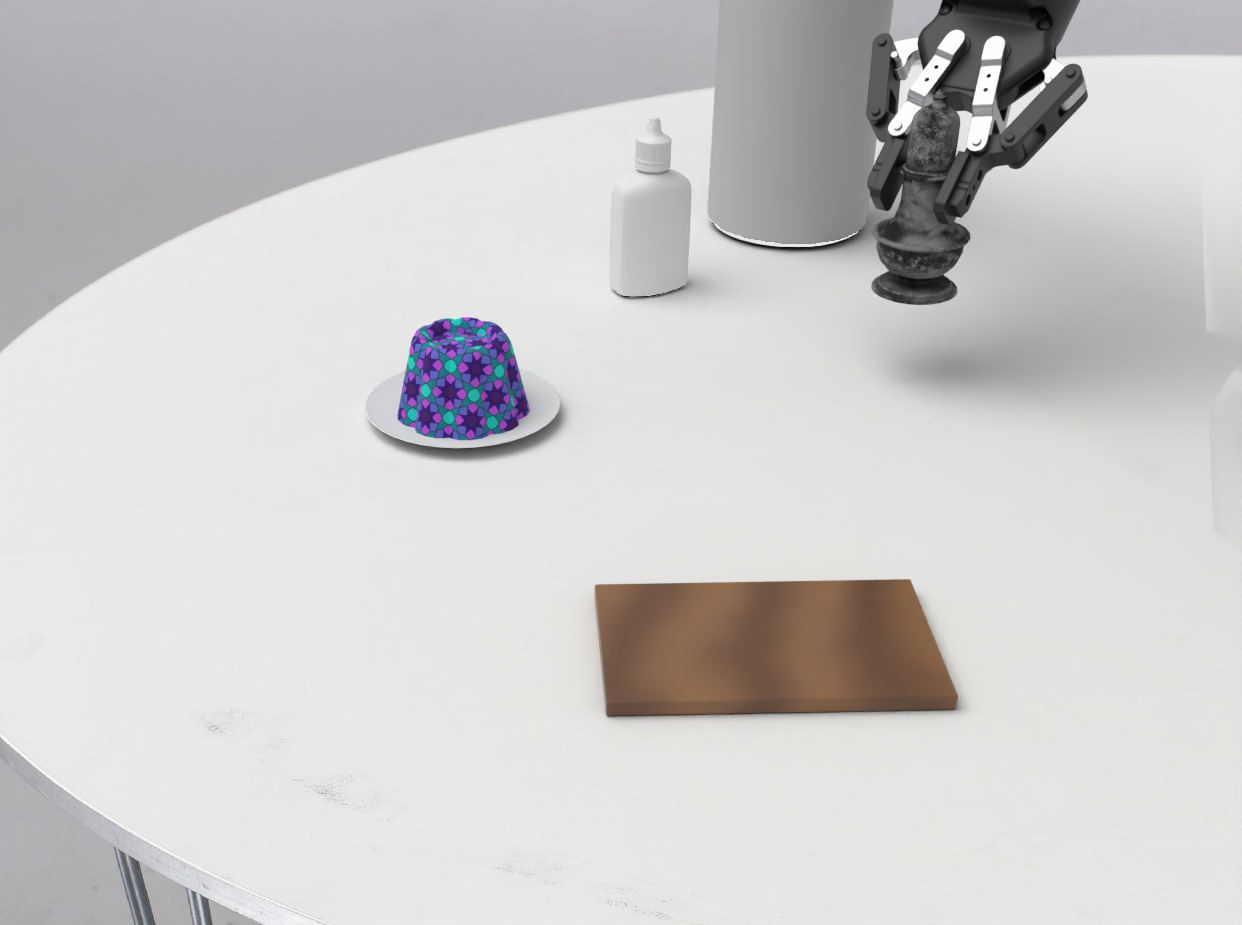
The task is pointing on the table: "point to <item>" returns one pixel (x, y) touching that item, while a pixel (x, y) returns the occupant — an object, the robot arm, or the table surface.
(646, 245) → the eye dropper bottle
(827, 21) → the cylinder vase
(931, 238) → the salt shaker
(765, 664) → the wooden board
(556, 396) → the pudding
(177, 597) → the table surface
